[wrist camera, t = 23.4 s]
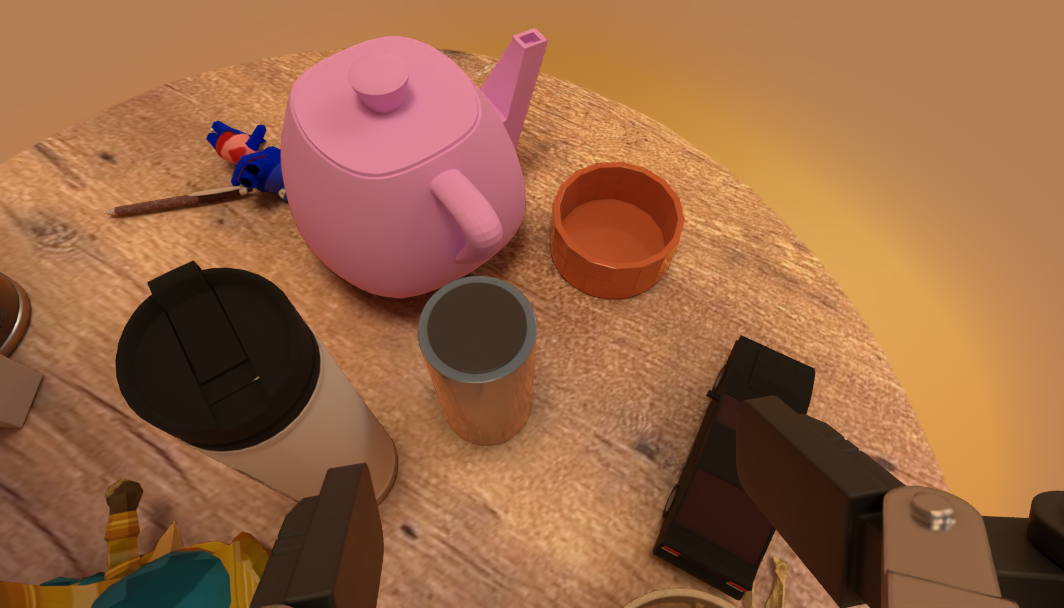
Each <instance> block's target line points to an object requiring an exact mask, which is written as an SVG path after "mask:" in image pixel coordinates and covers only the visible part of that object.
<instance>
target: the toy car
mask: <svg viewBox="0 0 1064 608" xmlns="http://www.w3.org/2000/svg"><path fill="white" fill-rule="evenodd" d="M814 379H815V369H814V368H812V367H810V366H807V365H805V364H803V363H801V362H799V361H796V360H794V359H792V358H790V357H788V356H785V355H783V354H781V353H779V352H777V351H774V350H772V349H770V348H768V347H766V346H763V345H761V344H759V343H757V342H755V341H752V340H750V339H748V338H746V337H744V336H742V335H741V336H740V338H739V339H738V341H737V340H736V342H735V344H734V347H733V349H732V351H731V354H730V356H729V359H728V361H727V364H725V365H724V367H723V368H722V370H721V372H720V373H719V375H718V377H717V380H716V382H715V384H714V387H713V390H712V391H711V390H709V391H708V393H707V395H706V396H708V397H710V398H712V400H711V403H710V405H709V408H708V410H707V413H706V415H705V418H704V420H703V423H702V425H701V428H700V430H699V433H698V435H697V438H696V440H695V443H694V446H693V448H692V451H691V453H690V456H689V458H688V461H687V463H686V466H685V468H684V471H683V473H682V476H681V478H680V481H679V484H680V485H679V484H677V485H676V486H675V487H674V489H673V491H672V493H671V494H670V497H669V499H668V501H667V503H666V506H665V509H664V512H663V517H664V518H665V521H664V523H663V526H662V528H661V531H660V534H659V536H658V539H657V542H656V544H655V547H654V549H653V554H654V555H656V556H658V557H660V558H662V559H664V560H665V561H667V562H669V563H671V564H673V565H674V566H676V567H678V568H680V569H682V570H684V571H685V572H687V573H689V574H691V575H693V576H694V577H696V578H698V579H700V580H702V581H704V582H705V583H707V584H709V585H711V586H713V587H714V588H716V589H718V590H720V591H722V592H724V593H725V594H727V595H729V596H731V597H733V598H734V599H736V600H740V599H741V598H742V596H743V594H744V593H745V592H747V591H752V588H753V582H754V579H755V576H756V573H757V570H758V568H759V566H760V564H761V562H762V559H763V557H764V555H765V553H766V550H767V548H768V546H769V543H770V541H771V539H772V537H773V534H774V532H775V530H776V529H775V528H774V526H773V525H772V524H771V523H770V521H769V520H768V519H767V518H766V516H765V515H764V514H763V513H762V512H761V510H760V509H759V508H758V507H757V505H756V504H755V503H754V502H753V501H752V499H751V498H750V497H749V496H748V494H747V493H746V492H745V490H744V489H743V487H742V485H741V482H740V480H739V477H738V473H737V467H736V410H737V406H738V403H739V402H740V401H744V400H750V399H756V398H762V397H768V396H776V397H778V398H779V399H781V400H782V401H783V402H784V403H785V404H787V405H788V406H789V407H790V408H791V409H793V410H794V411H795V412H796V413H798V414H805V415H806V413H807V410H808V407H809V404H810V400H811V395H812V390H813V384H814Z"/></svg>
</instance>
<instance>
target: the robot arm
mask: <svg viewBox="0 0 1064 608" xmlns="http://www.w3.org/2000/svg"><path fill="white" fill-rule="evenodd" d="M29 312H30V308H29V301H28V297H27V295H26V293H25V291H24V290H23V288H22V287H21V286H20V285H19V284H18V283H16V282H15V281H14V280H12V279H11V278H9V277H8V276H6V275H4V274H3V273H1V272H0V355H3V356H5V357H7V356H8V355H9V354H10V353H11V352H12V351H13V349H14V348H15V347H16V345H17V344H18V342H19V341H20V339H21V337H22V335H23V334H24V331H25V329H26V327H27V323H28V319H29ZM736 467H737V473H738V477H739V480H740V482H741V485H742V487H743V489H744V490H745V492H746V493H747V494H748V496H749V497H750V498H751V499H752V501H753V502H754V503H755V504H756V505H757V507H758V508H759V509H760V510H761V512H762V513H763V514H764V515H765V516H766V518H767V519H768V520H769V521H770V523H771V524H772V525H773V526H774V528H775V529H776V530H777V531H778V532H779V534H780V535H781V536H782V537H783V539H784V540H785V541H786V542H787V543H788V545H789V546H790V547H791V548H792V550H793V551H794V552H795V553H796V554H797V556H798V557H799V558H800V559H801V561H802V562H803V563H804V564H805V566H806V567H807V568H808V569H809V570H810V572H811V573H812V574H813V575H814V577H815V578H816V579H817V580H818V581H819V583H820V584H821V585H822V586H823V588H824V589H825V590H826V591H827V593H828V594H829V595H830V596H831V597H832V599H833V600H834V601H835V602H836V604H837V605H838V606H839V607H840V608H847V607H852V606H857V605H861V604H867V605H868V606H869V607H870V608H1064V491H1048V492H1044V493H1041V494H1038V495H1037V496H1035V497H1034V498H1033V500H1032V504H1031V509H1030V514H1029V518H1014V517H992V516H991V517H990V516H981V515H980V513H979V512H978V511H977V510H976V509H975V508H974V507H973V506H972V505H970V504H969V503H968V502H966V501H964V500H963V499H961V498H959V497H957V496H955V495H953V494H950V493H948V492H945V491H942V490H938V489H934V488H930V487H923V486H906V485H904V484H903V483H902V482H901V481H899V480H898V479H897V478H896V477H894V476H893V475H892V474H890V473H889V472H888V471H887V470H885V469H884V468H883V467H882V466H880V465H879V464H878V463H876V462H875V461H874V460H873V459H871V458H870V457H869V456H868V455H866V454H865V453H864V452H862V451H860V452H859V450H858V448H857V447H856V446H855V445H854V444H852V443H851V442H850V441H848V440H845V439H844V437H843V436H842V435H841V434H840V433H838V432H837V431H836V430H834V429H833V428H832V427H831V426H829V425H828V424H827V423H824V422H822V421H819V420H817V419H815V418H812V417H810V416H808V415H805V414H798V413H796V412H795V411H794V410H793V409H791V408H790V407H789V406H788V405H787V404H785V403H784V402H783V401H782V400H781V399H779V398H778V397H776V396H768V397H762V398H756V399H750V400H744V401H740V402H739V403H738V406H737V410H736ZM383 554H384V543H383V531H382V525H381V520H380V516H379V511H378V506H377V502H376V497H375V493H374V488H373V484H372V479H371V474H370V470H369V467H368V465H367V463H359V464H353V465H347V466H340V467H334V468H329V469H328V470H327V473H326V475H325V478H324V481H323V484H322V487H321V490H320V493H319V495H317V496H311V497H305V498H303V499H302V500H301V501H300V502H299V503H298V504H297V505H296V506H295V507H294V508H293V509H292V510H291V511H290V512H289V513H288V514H287V516H286V517H285V519H284V522H283V524H282V527H281V529H280V532H279V534H278V539H277V540H276V542H275V544H274V547H273V549H272V555H271V556H269V559H268V561H267V564H266V566H265V569H264V571H263V574H262V576H261V579H260V581H259V584H258V586H257V589H256V591H255V594H254V596H253V598H252V601H251V603H250V606H249V608H376V605H377V598H378V591H379V584H380V577H381V570H382V563H383Z"/></svg>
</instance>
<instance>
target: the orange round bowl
mask: <svg viewBox="0 0 1064 608" xmlns="http://www.w3.org/2000/svg"><path fill="white" fill-rule="evenodd" d="M684 222H685V219H684V215H683V210H682V206H681V202H680V199H679V198H678V196H677V195H676V194H675V192H674V191H673V190H672V188H671V187H670V186H669V185H668V183H667V182H666V181H665V180H663V179H662V178H660V177H659V176H657V175H655V174H654V173H652V172H651V171H649V170H648V169H645V168H643V167H639V166H635V165H631V164H627V163H624V162H610V163H596V164H594V165H591V166H588V167H586V168H583V169H581V170H578V171H576V172H575V173H574V174H573V175H572V176H570V177H569V178H568V179H567V180H566V181H565V182H564V183H563V184H562V185H561V186H560V188H559V190H558V193H557V195H556V198H555V201H554V203H553V208H552V219H551V230H550V248H551V255H552V258H553V261H554V263H555V265H556V267H557V269H558V271H559V272H560V273H561V275H562V276H563V277H564V278H565V279H566V280H567V281H568V282H569V283H570V284H571V285H573V286H574V287H576V288H577V289H579V290H581V291H583V292H585V293H587V294H590V295H592V296H596V297H600V298H607V299H622V298H628V297H633V296H636V295H638V294H641V293H643V292H645V291H647V290H648V289H650V288H651V287H652V286H654V285H655V284H656V283H657V282H658V281H659V280H660V278H661V277H662V276H663V274H664V272H665V271H666V270H667V268H668V266H669V264H670V262H671V259H672V257H673V255H674V253H675V250H676V248H677V246H678V244H679V241H680V238H681V234H682V230H683V226H684Z"/></svg>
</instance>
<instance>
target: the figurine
mask: <svg viewBox="0 0 1064 608" xmlns="http://www.w3.org/2000/svg"><path fill="white" fill-rule="evenodd" d="M210 130H211V131H212V132H213V131H215V132H216V133H209V134H208V136H207V140H208V142H209V143H210V144H211V145H212V146H213V147H214V148H215V150H216V152H217V153H218V155H219V156H220V157H222V158H223V159H225V160H227V161H229V162H231V163H234V164H235V170H234V174H233V177H232V180H231V183H232V185H233V186H240V184H242V185H243V186H245V187H247V188H250V189H252V188H257V189H258V190H260V191H261V192H267V191H270V192H273V193H276V194H277V195H278V196H279V197H280V198H281V199H283V200H288V199H287V195H286V191H285V186H284V181H283V175H282V168H281V149H278V148H276V147H273V146H272V147H268V148H266V149H265V150H263V151H260V152H259V146H260V144H261V143H264V142H266V140H264V139H263V137H264V135H265V132H266V127H265V125H257V127H256V128H255V130H254V132H253V134H252V135H248V134H246V133H244V132H241V131H239V130H236V129H233V128H231V127H229V126H227V125H225V124H223V123H222V122H220V121H215V122H214V123H213V125H212V127H211V128H210Z"/></svg>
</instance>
